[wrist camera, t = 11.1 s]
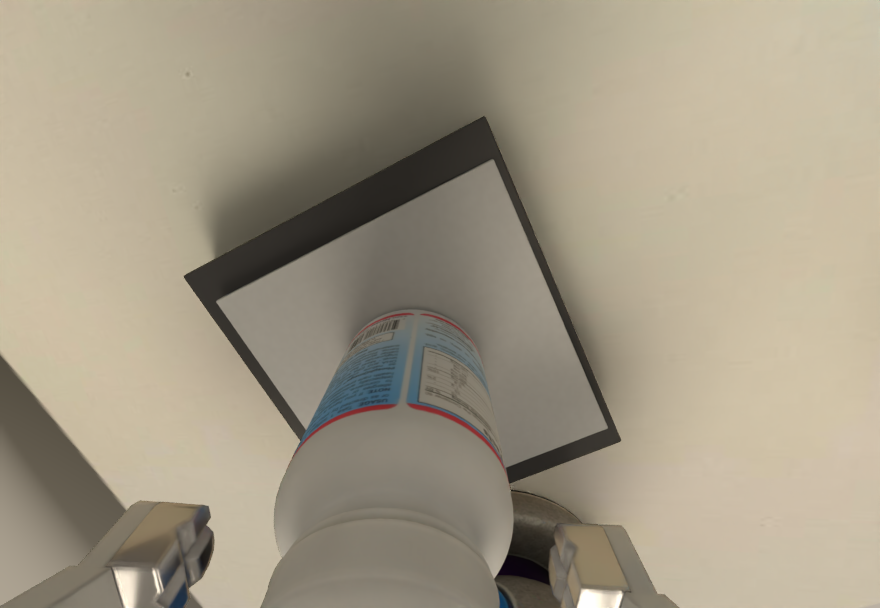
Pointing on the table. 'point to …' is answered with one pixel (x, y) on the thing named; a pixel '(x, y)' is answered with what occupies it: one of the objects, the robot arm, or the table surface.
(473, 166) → the scale
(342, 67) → the table surface
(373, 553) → the pill bottle
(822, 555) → the table surface
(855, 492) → the table surface
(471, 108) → the table surface
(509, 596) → the webcam
